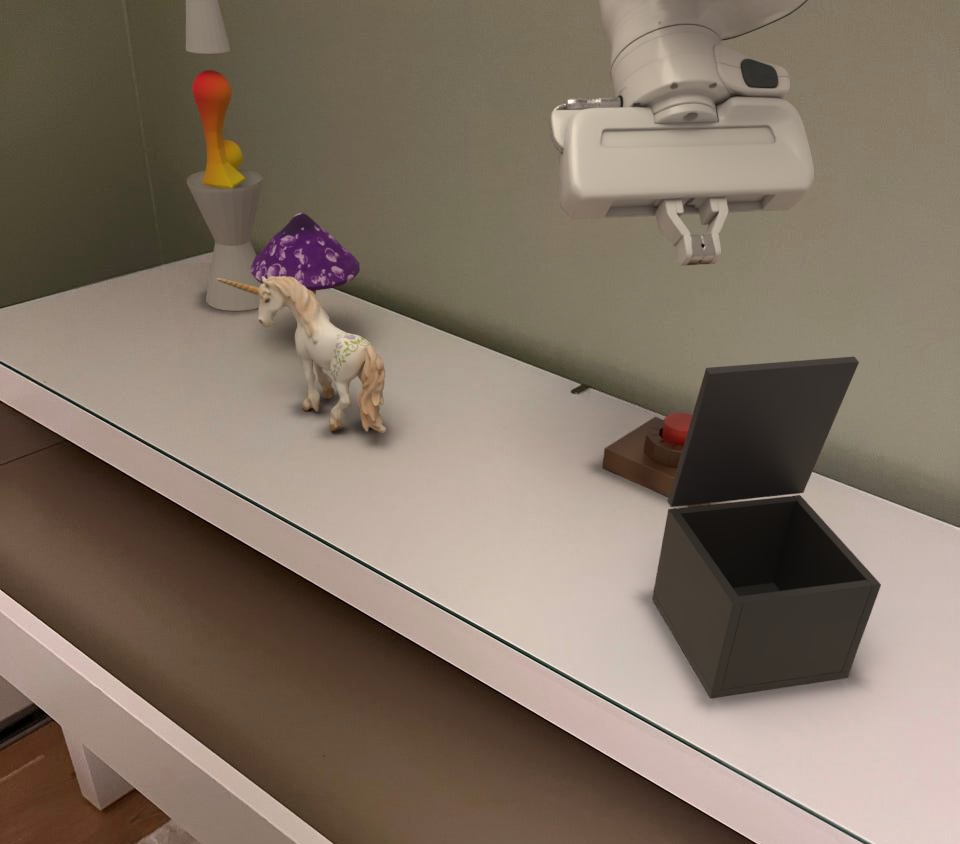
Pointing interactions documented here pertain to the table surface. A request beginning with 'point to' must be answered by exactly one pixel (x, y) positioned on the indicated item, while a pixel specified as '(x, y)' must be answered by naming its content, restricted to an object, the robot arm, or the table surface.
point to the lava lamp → (222, 170)
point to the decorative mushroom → (306, 256)
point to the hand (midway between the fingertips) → (700, 261)
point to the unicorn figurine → (324, 350)
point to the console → (645, 457)
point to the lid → (759, 429)
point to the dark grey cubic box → (761, 594)
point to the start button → (676, 428)
